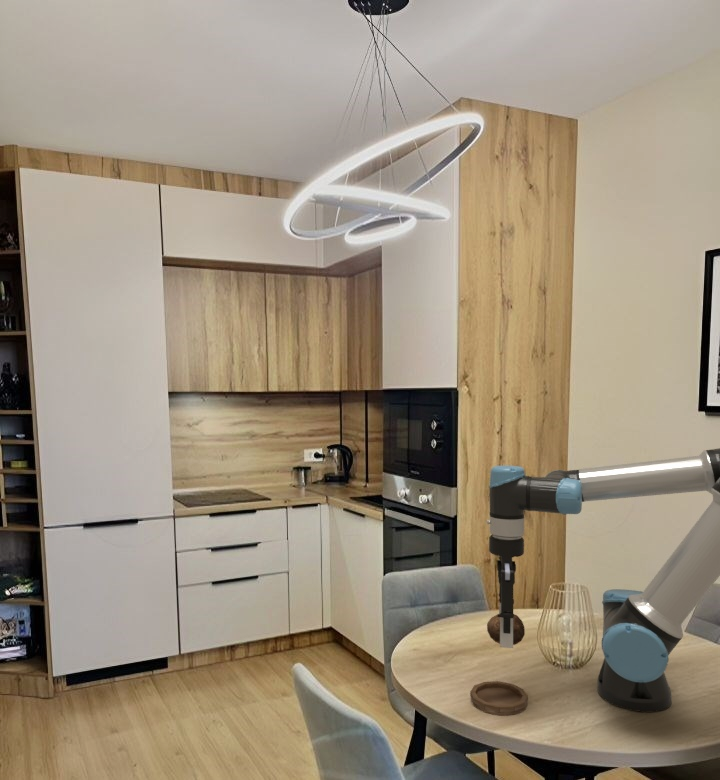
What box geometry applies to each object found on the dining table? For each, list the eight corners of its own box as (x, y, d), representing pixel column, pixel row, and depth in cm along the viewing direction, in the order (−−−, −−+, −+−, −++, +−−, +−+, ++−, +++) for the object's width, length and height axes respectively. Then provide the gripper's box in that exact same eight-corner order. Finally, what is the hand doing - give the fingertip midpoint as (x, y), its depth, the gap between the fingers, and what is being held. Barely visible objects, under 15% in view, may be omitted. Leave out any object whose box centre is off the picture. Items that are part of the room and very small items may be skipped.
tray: (538, 704, 131) (538, 696, 131) (500, 721, 125) (499, 712, 125) (497, 684, 141) (497, 676, 141) (460, 698, 135) (460, 690, 135)
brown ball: (500, 615, 139) (502, 599, 136) (530, 637, 134) (533, 620, 131) (479, 639, 135) (480, 622, 131) (509, 662, 130) (512, 645, 126)
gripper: (488, 526, 144) (488, 622, 143) (489, 545, 124) (488, 657, 124) (521, 527, 142) (520, 625, 142) (527, 547, 123) (526, 660, 122)
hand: (505, 639), depth 133 cm, fingers closed on brown ball, 7 cm apart
